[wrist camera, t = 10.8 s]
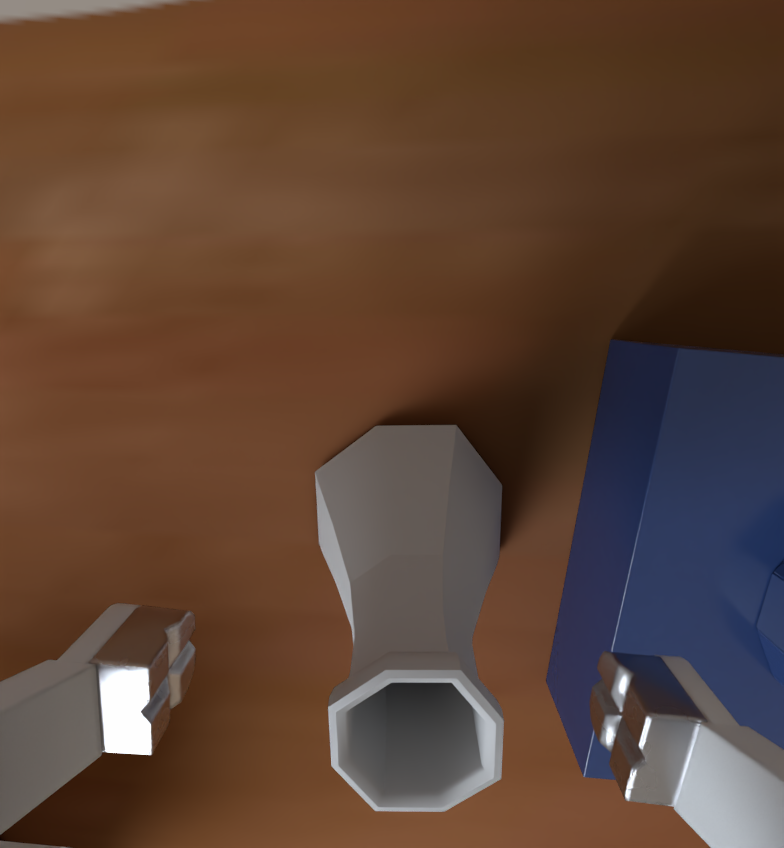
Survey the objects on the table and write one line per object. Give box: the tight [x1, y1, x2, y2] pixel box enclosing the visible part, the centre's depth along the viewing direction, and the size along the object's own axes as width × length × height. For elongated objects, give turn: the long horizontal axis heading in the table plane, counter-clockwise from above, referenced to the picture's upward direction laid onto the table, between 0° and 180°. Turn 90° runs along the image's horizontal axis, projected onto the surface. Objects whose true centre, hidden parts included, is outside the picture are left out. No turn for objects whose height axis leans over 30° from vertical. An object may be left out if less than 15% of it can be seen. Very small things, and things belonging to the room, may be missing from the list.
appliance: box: [546, 339, 784, 780], centre depth 15 cm, size 14×11×6 cm
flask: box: [315, 425, 504, 812], centre depth 13 cm, size 7×7×10 cm
